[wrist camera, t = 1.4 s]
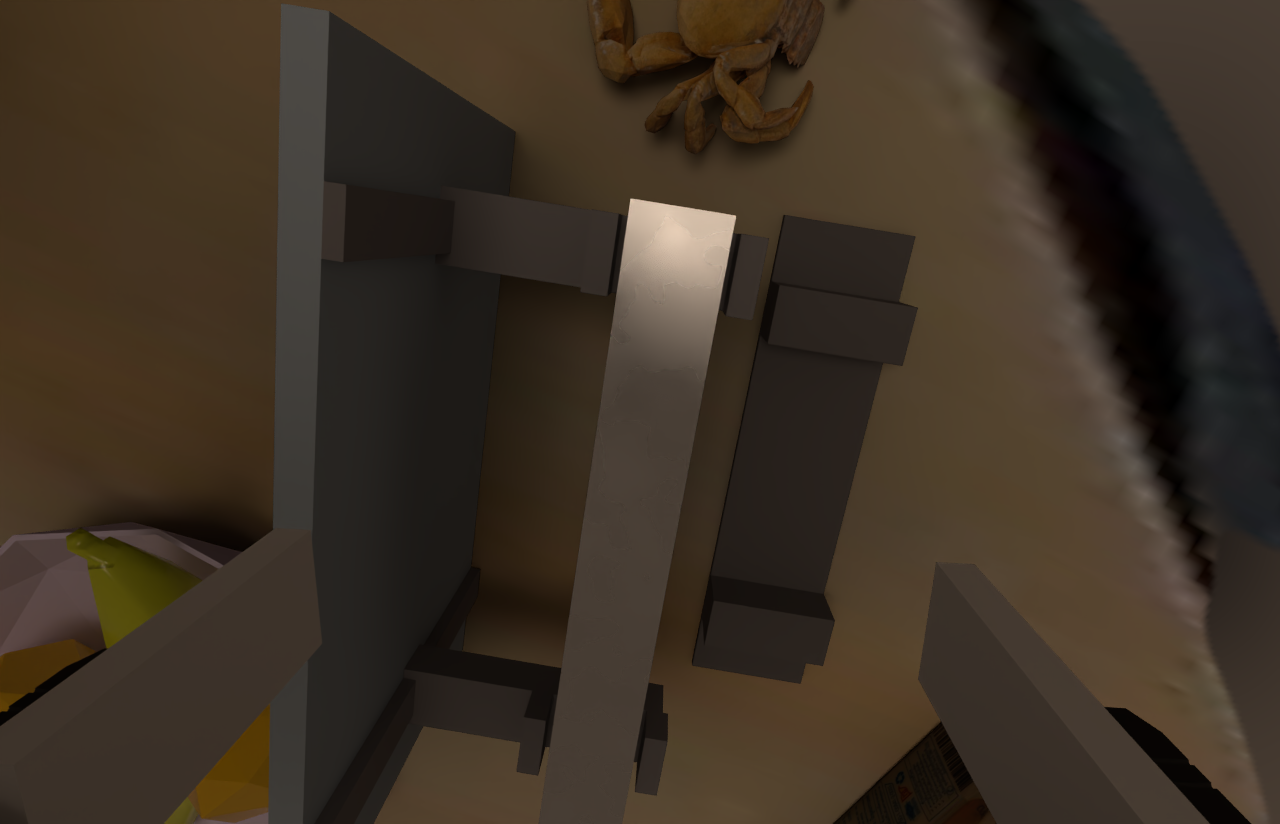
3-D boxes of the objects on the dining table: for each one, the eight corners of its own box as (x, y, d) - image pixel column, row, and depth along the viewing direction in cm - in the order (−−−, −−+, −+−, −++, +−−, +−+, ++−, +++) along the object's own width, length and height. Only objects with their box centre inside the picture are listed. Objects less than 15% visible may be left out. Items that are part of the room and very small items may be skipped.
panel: (444, 646, 44) (265, 966, 25) (493, 128, 36) (281, 3, 17) (652, 681, 44) (636, 1030, 25) (749, 169, 36) (838, 93, 16)
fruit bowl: (309, 883, 50) (207, 1065, 39) (-34, 708, 47) (-246, 849, 37) (488, 604, 43) (425, 728, 32) (99, 381, 41) (-112, 435, 30)
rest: (692, 660, 44) (693, 696, 40) (783, 215, 36) (794, 213, 33) (799, 678, 43) (809, 716, 40) (912, 236, 36) (936, 236, 33)
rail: (554, 756, 33) (538, 826, 29) (637, 203, 26) (630, 198, 22) (625, 768, 33) (618, 840, 29) (726, 218, 26) (736, 215, 22)
